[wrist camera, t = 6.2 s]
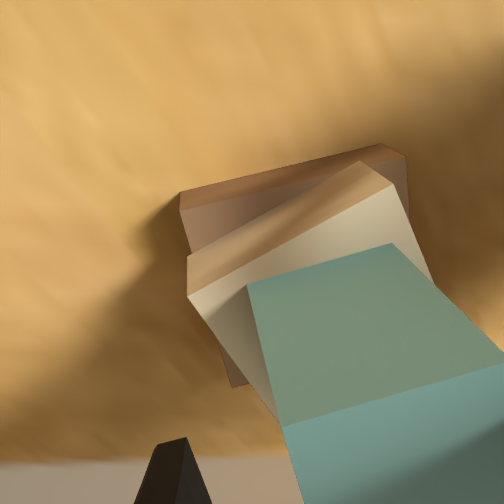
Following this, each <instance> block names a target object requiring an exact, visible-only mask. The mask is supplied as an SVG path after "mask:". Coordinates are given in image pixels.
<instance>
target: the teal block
mask: <svg viewBox="0 0 504 504" xmlns="http://www.w3.org/2000/svg"><path fill="white" fill-rule="evenodd" d="M246 285H247V289H248V293H249V297H250V301H251V306H252V310H253V314H254V318H255V322H256V326H257V330H258V335H259V339H260V343H261V347H262V351H263V355H264V360H265V364H266V368H267V372H268V376H269V380H270V384H271V389H272V393H273V397H274V401H275V405H276V409H277V413H278V418H279V422H280V426H281V430H282V433H283V436H284V439H285V442H286V446H287V449H288V452H289V455H290V459H291V462H292V465H293V468H294V471H295V474H296V478H297V481H298V484H299V488H300V491H301V494H302V497H303V501H304V504H504V353H503V352H502V351H501V350H500V349H499V348H498V347H497V346H496V345H495V344H494V343H493V342H492V341H491V340H490V339H489V338H488V337H487V336H486V335H485V334H484V333H483V332H482V331H481V330H480V329H479V328H478V327H477V326H476V325H475V324H474V323H473V322H472V321H471V320H470V319H469V318H468V317H467V316H466V315H465V314H464V313H463V312H462V311H461V310H460V309H459V308H458V307H457V306H456V305H455V304H454V303H453V302H452V301H451V300H450V299H449V298H448V297H447V296H445V295H444V294H443V293H442V292H441V291H440V290H439V289H438V288H437V287H436V286H435V285H434V284H433V283H432V282H431V281H430V280H429V279H428V278H427V277H426V276H425V275H424V274H423V273H422V272H421V271H420V270H419V269H418V268H417V267H416V266H415V265H414V264H413V263H412V262H411V261H410V260H409V259H408V258H407V257H406V256H405V255H404V254H403V253H402V252H401V251H400V250H399V249H398V248H397V247H396V246H395V245H394V244H393V243H389V244H385V245H382V246H378V247H375V248H371V249H368V250H364V251H361V252H358V253H354V254H351V255H347V256H344V257H340V258H337V259H333V260H330V261H326V262H323V263H319V264H316V265H312V266H309V267H305V268H302V269H298V270H295V271H291V272H288V273H284V274H281V275H277V276H274V277H270V278H267V279H263V280H260V281H256V282H253V283H249V284H246Z"/></svg>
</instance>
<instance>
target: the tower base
mask: <svg viewBox="0 0 504 504" xmlns="http://www.w3.org/2000/svg"><path fill="white" fill-rule="evenodd" d="M359 160H360V161H361V162H363V163H364V164H366V165H367V166H368V167H370V168H371V169H373V170H374V171H376V172H377V173H379V174H380V175H381V176H383V177H384V178H386V179H387V180H389V181H390V182H392V183H393V184H394V186H395V189H396V191H397V194H398V196H399V199H400V201H401V204H402V206H403V208H404V211H405V213H406V216H407V218H408V221H409V223H410V217H409V201H408V185H407V168H406V156H404V155H402V154H400V153H398V152H396V151H394V150H392V149H390V148H389V147H387V146H385V145H383V144H378V145H374V146H370V147H365V148H361V149H357V150H353V151H349V152H345V153H340V154H336V155H332V156H328V157H324V158H320V159H315V160H311V161H307V162H303V163H299V164H294V165H290V166H286V167H282V168H278V169H274V170H269V171H265V172H261V173H257V174H253V175H249V176H244V177H240V178H236V179H232V180H228V181H224V182H219V183H215V184H211V185H207V186H203V187H198V188H194V189H190V190H186V191H182V192H180V208H179V212H180V215H181V219H182V222H183V225H184V229H185V232H186V235H187V239H188V242H189V246H190V249H191V252H192V254H193V253H194V252H196V251H198V250H200V249H201V248H203V247H205V246H207V245H209V244H210V243H212V242H214V241H216V240H218V239H219V238H221V237H223V236H225V235H227V234H228V233H230V232H232V231H234V230H236V229H237V228H239V227H241V226H243V225H245V224H246V223H248V222H250V221H252V220H254V219H255V218H257V217H259V216H261V215H263V214H264V213H266V212H268V211H270V210H272V209H273V208H275V207H277V206H279V205H281V204H282V203H284V202H286V201H288V200H289V199H291V198H293V197H295V196H297V195H298V194H300V193H302V192H304V191H306V190H307V189H309V188H311V187H313V186H315V185H316V184H318V183H320V182H322V181H324V180H325V179H327V178H329V177H331V176H333V175H334V174H336V173H338V172H340V171H342V170H343V169H345V168H347V167H349V166H351V165H352V164H354V163H356V162H358V161H359ZM217 340H218V339H217ZM218 343H219V347H220V350H221V354H222V357H223V360H224V364H225V367H226V370H227V374H228V377H229V381H230V384H231V387H232V388H234V387H238V386H242V385H246V384H250V383H249V382H248V380H247V379H246V377H245V376H244V375H243V373H242V372H241V370H240V369H239V368H238V366H237V365H236V364H235V362H234V361H233V359H232V358H231V357H230V355H229V354H228V353H227V351H226V350H225V348H224V347H223V346H222V344H221V343H220V342H219V340H218Z"/></svg>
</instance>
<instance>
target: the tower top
mask: <svg viewBox="0 0 504 504" xmlns="http://www.w3.org/2000/svg"><path fill="white" fill-rule="evenodd" d="M389 243H393V244H394V245H395V246H396V247H397V248H398V249H399V250H400V251H401V252H402V253H403V254H404V255H405V256H406V257H407V258H408V259H409V260H410V261H411V262H412V263H413V264H414V265H415V266H416V267H417V268H418V269H419V270H420V271H421V272H422V273H423V274H424V275H425V276H426V277H427V278H428V279H429V280H430V281H431V282H432V283H433V284H434V282H433V279H432V277H431V274H430V272H429V269H428V267H427V265H426V262H425V260H424V257H423V255H422V252H421V250H420V247H419V245H418V243H417V240H416V238H415V235H414V233H413V230H412V228H411V225H410V223H409V221H408V218H407V216H406V213H405V211H404V208H403V206H402V204H401V201H400V199H399V196H398V194H397V191H396V189H395V186H394V184H393V183H392V182H390V181H389V180H387V179H386V178H384V177H383V176H381V175H380V174H379V173H377V172H376V171H374V170H373V169H371V168H370V167H368V166H367V165H366V164H364V163H363V162H361V161H360V160H359V161H358V162H356V163H354V164H352V165H351V166H349V167H347V168H345V169H343V170H342V171H340V172H338V173H336V174H334V175H333V176H331V177H329V178H327V179H325V180H324V181H322V182H320V183H318V184H316V185H315V186H313V187H311V188H309V189H307V190H306V191H304V192H302V193H300V194H298V195H297V196H295V197H293V198H291V199H289V200H288V201H286V202H284V203H282V204H281V205H279V206H277V207H275V208H273V209H272V210H270V211H268V212H266V213H264V214H263V215H261V216H259V217H257V218H255V219H254V220H252V221H250V222H248V223H246V224H245V225H243V226H241V227H239V228H237V229H236V230H234V231H232V232H230V233H228V234H227V235H225V236H223V237H221V238H219V239H218V240H216V241H214V242H212V243H210V244H209V245H207V246H205V247H203V248H201V249H200V250H198V251H196V252H194V253H193V254H191V255H189V256H187V297H188V299H189V300H190V302H191V303H192V304H193V306H194V307H195V308H196V310H197V311H198V313H199V314H200V315H201V317H202V318H203V319H204V321H205V322H206V324H207V325H208V326H209V328H210V329H211V330H212V332H213V333H214V335H215V336H216V337H217V339H218V340H219V342H220V343H221V344H222V346H223V347H224V348H225V350H226V351H227V353H228V354H229V355H230V357H231V358H232V359H233V361H234V362H235V364H236V365H237V366H238V368H239V369H240V370H241V372H242V373H243V375H244V376H245V377H246V379H247V380H248V382H249V383H250V384H251V386H252V387H253V388H254V390H255V391H256V393H257V394H258V395H259V397H260V398H261V399H262V401H263V402H264V404H265V405H266V406H267V408H268V409H269V411H270V412H271V413H272V415H273V416H274V417H275V419H276V420H277V422H278V423H279V424H280V422H279V418H278V413H277V409H276V405H275V401H274V397H273V393H272V389H271V384H270V380H269V376H268V372H267V368H266V364H265V360H264V355H263V351H262V347H261V343H260V339H259V335H258V330H257V326H256V322H255V318H254V314H253V310H252V306H251V301H250V297H249V293H248V289H247V285H246V284H249V283H253V282H256V281H260V280H263V279H267V278H270V277H274V276H277V275H281V274H284V273H288V272H291V271H295V270H298V269H302V268H305V267H309V266H312V265H316V264H319V263H323V262H326V261H330V260H333V259H337V258H340V257H344V256H347V255H351V254H354V253H358V252H361V251H364V250H368V249H371V248H375V247H378V246H382V245H385V244H389ZM434 285H435V284H434Z"/></svg>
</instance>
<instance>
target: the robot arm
mask: <svg viewBox="0 0 504 504" xmlns="http://www.w3.org/2000/svg"><path fill="white" fill-rule="evenodd" d="M134 504H212V502H211V499H210V496H209V494H208V491H207V489H206V486H205V484H204V481H203V478H202V476H201V473H200V471H199V468H198V465H197V463H196V460H195V458H194V455H193V453H192V450H191V447H190V445H189V442H188V440H187V437H185V438H181V439H177V440H173V441H169V442H165V443H161V444H158V445H157V446H156V448H155V449H154V451H153V454H152V457H151V459H150V462H149V465H148V468H147V471H146V473H145V476H144V479H143V481H142V484H141V486H140V489H139V492H138V494H137V497H136V499H135V502H134Z"/></svg>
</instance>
